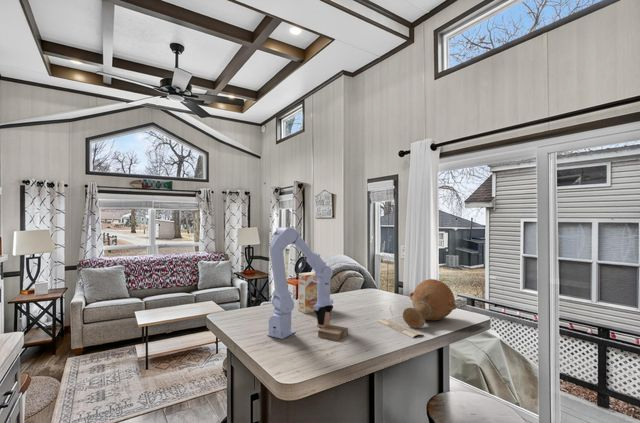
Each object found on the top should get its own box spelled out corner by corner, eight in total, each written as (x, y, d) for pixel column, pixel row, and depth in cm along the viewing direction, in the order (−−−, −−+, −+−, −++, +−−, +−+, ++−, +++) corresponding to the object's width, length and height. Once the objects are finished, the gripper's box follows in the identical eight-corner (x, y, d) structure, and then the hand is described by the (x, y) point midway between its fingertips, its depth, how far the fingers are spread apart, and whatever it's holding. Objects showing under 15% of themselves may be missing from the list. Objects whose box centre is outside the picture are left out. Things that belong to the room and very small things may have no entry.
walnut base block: (338, 342, 127) (338, 334, 128) (318, 337, 132) (318, 330, 132) (347, 335, 135) (347, 327, 135) (328, 331, 140) (328, 324, 140)
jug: (468, 295, 156) (445, 316, 133) (445, 321, 164) (420, 345, 141) (434, 267, 165) (407, 282, 143) (414, 293, 174) (386, 311, 151)
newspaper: (424, 337, 134) (424, 333, 134) (410, 340, 131) (410, 335, 131) (388, 321, 155) (388, 317, 155) (375, 323, 152) (376, 319, 152)
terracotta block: (325, 328, 142) (325, 314, 143) (317, 326, 144) (317, 313, 145) (329, 325, 146) (329, 312, 146) (321, 324, 148) (321, 311, 148)
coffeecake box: (304, 313, 165) (305, 274, 166) (297, 310, 171) (297, 273, 171) (328, 309, 174) (328, 272, 174) (320, 306, 179) (320, 270, 180)
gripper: (323, 296, 137) (323, 329, 137) (339, 290, 150) (338, 320, 149) (309, 294, 141) (309, 326, 140) (325, 288, 153) (325, 317, 153)
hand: (323, 323), depth 145 cm, fingers closed on terracotta block, 4 cm apart
